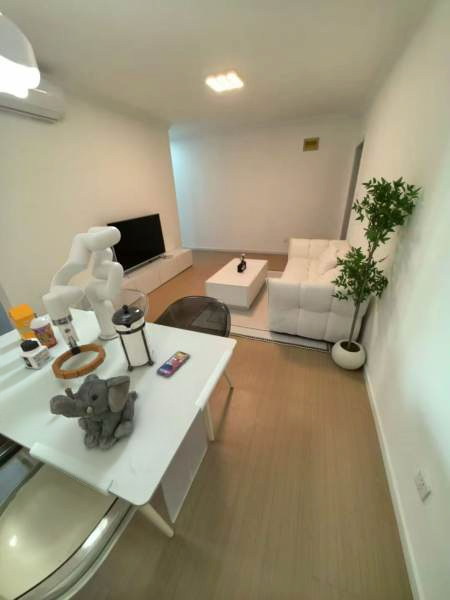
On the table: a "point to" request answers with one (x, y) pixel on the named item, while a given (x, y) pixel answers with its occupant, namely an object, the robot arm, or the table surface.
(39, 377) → the table surface
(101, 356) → the orange-brown ring
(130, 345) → the coffee press
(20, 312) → the orange juice
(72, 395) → the spindle
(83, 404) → the stuffed elephant
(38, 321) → the smoothie
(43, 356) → the container
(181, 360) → the smartphone
